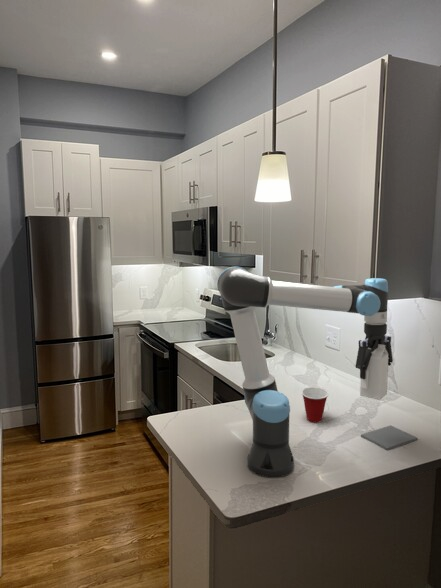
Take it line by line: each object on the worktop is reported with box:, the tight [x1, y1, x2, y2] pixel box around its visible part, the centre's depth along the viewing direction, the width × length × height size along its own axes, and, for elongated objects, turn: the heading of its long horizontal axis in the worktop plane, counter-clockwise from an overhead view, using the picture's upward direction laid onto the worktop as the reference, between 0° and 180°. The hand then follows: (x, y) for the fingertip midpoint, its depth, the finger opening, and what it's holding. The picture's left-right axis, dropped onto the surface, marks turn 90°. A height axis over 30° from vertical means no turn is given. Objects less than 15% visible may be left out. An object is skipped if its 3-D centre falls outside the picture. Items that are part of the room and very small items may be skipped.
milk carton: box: [359, 344, 389, 401], centre depth 158 cm, size 7×7×19 cm
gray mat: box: [360, 424, 419, 451], centre depth 164 cm, size 16×12×1 cm
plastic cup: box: [300, 386, 330, 424], centre depth 179 cm, size 11×11×12 cm
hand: (373, 384), depth 159 cm, fingers closed on milk carton, 9 cm apart
